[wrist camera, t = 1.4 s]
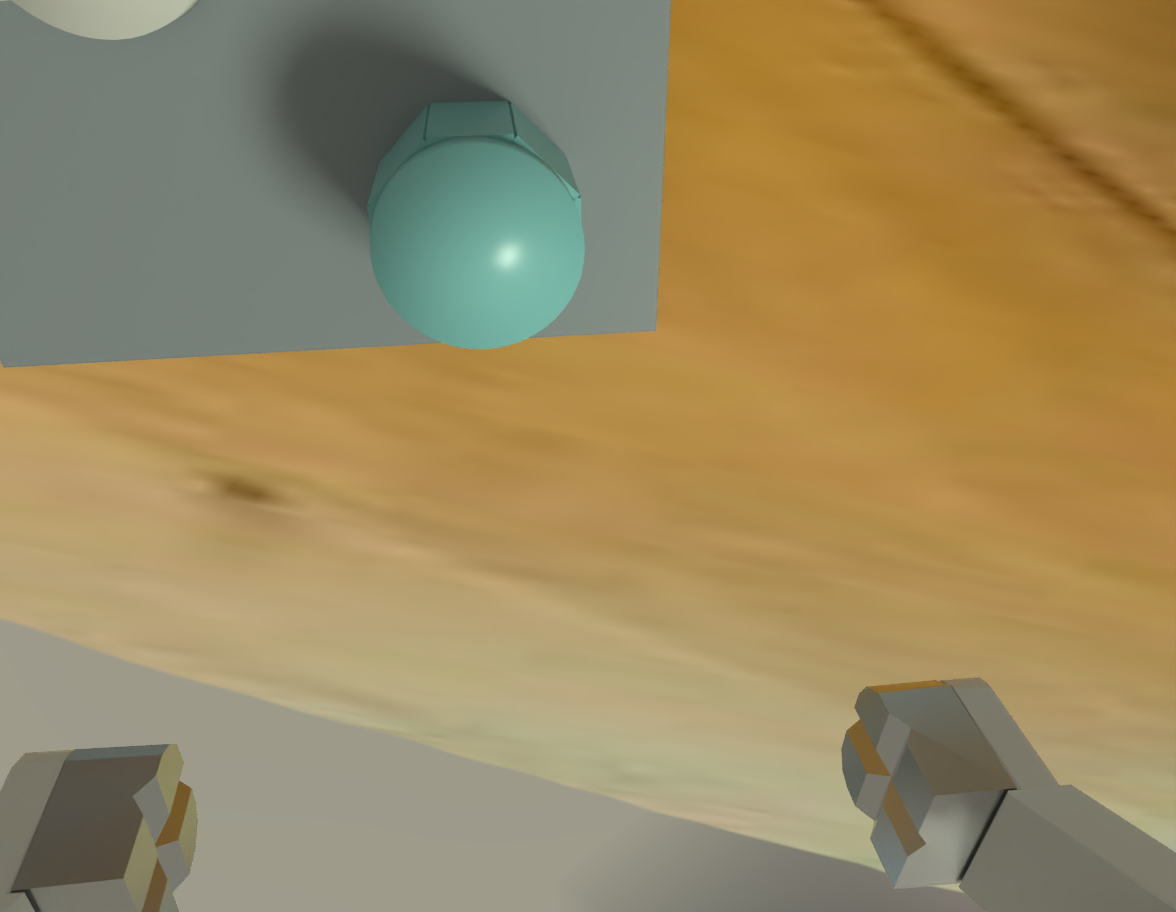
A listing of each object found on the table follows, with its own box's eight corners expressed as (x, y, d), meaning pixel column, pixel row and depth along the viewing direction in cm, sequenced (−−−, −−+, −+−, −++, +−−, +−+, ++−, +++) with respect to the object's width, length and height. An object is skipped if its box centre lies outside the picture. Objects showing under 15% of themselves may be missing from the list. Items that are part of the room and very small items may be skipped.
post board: (676, -342, 22) (773, -437, 15) (649, 316, 32) (700, 436, 25) (-278, -361, 20) (-668, -482, 13) (19, 350, 30) (-112, 492, 23)
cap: (565, 98, 26) (584, 139, 22) (568, 279, 29) (585, 343, 25) (370, 104, 26) (353, 147, 22) (395, 288, 29) (384, 354, 25)
